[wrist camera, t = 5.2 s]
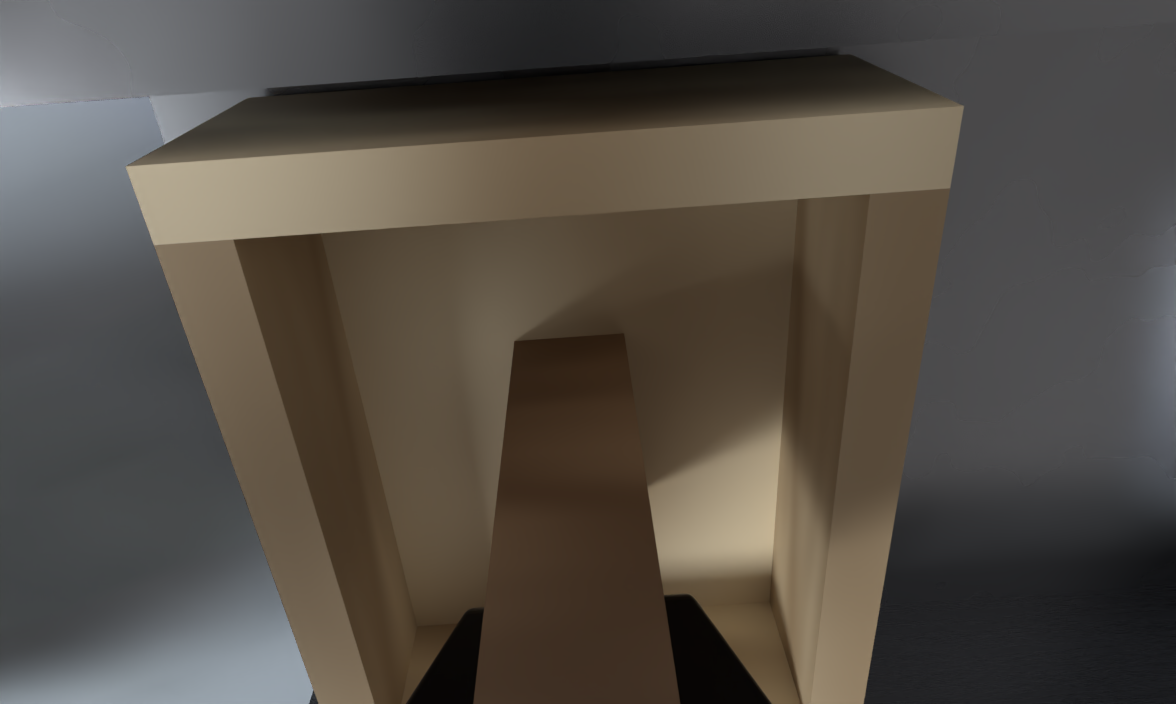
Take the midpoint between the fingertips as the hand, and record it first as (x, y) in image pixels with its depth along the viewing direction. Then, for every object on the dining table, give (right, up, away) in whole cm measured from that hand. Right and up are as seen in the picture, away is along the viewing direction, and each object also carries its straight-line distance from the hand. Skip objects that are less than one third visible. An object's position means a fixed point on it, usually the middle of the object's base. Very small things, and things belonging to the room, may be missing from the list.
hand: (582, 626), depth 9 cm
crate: (0, +2, +4) cm, 5 cm away
